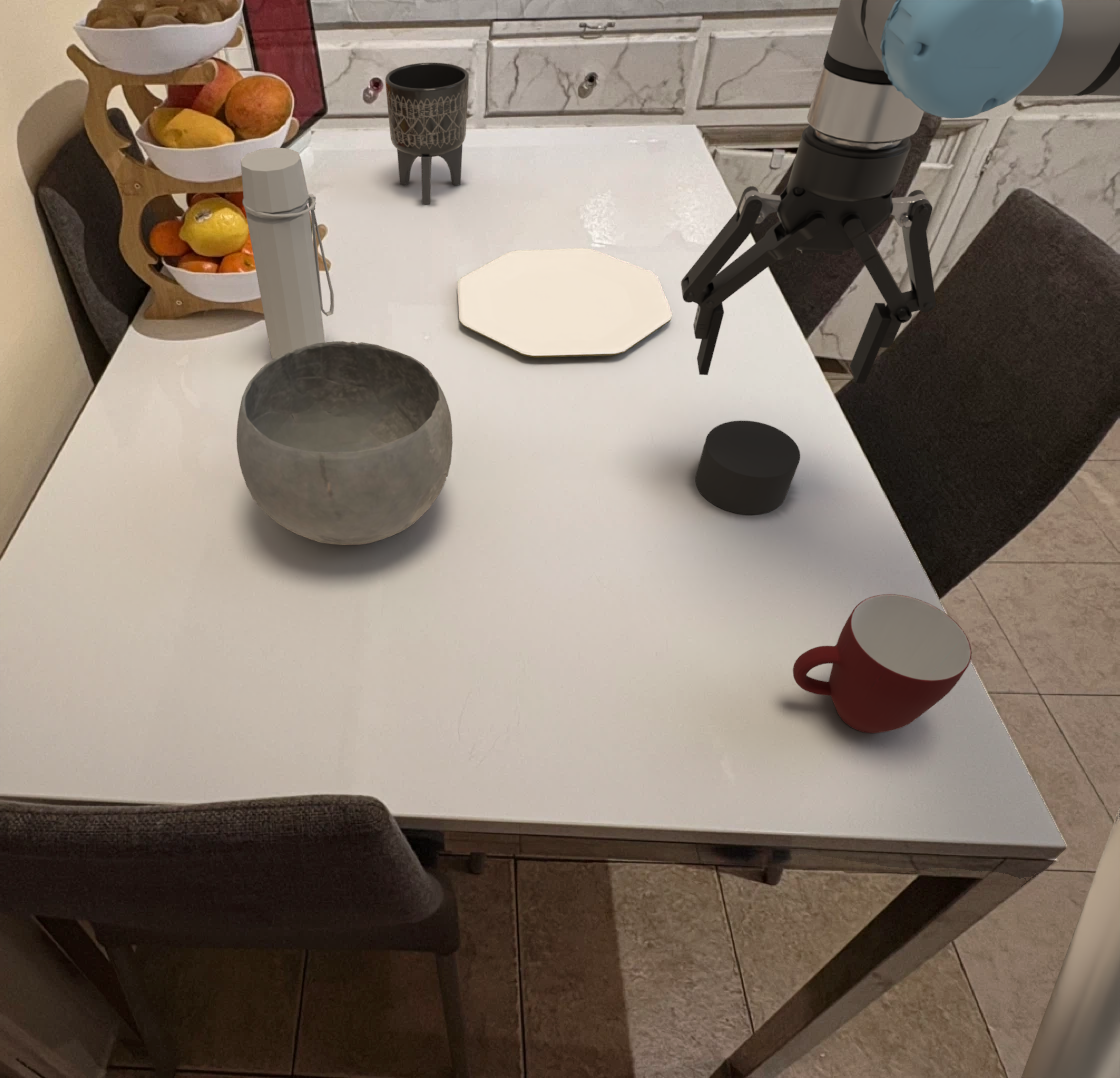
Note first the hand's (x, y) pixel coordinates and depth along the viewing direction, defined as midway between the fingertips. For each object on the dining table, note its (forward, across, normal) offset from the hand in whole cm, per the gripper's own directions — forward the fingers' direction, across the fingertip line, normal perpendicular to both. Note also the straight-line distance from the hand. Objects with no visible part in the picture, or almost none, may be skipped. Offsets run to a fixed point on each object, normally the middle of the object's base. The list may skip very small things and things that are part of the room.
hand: (778, 370), depth 77 cm
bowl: (+14, +40, +9) cm, 43 cm away
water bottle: (+14, +51, -19) cm, 57 cm away
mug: (+14, -5, +28) cm, 31 cm away
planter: (+15, +43, -70) cm, 84 cm away
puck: (+14, 0, 0) cm, 14 cm away
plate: (+14, +20, -34) cm, 42 cm away
